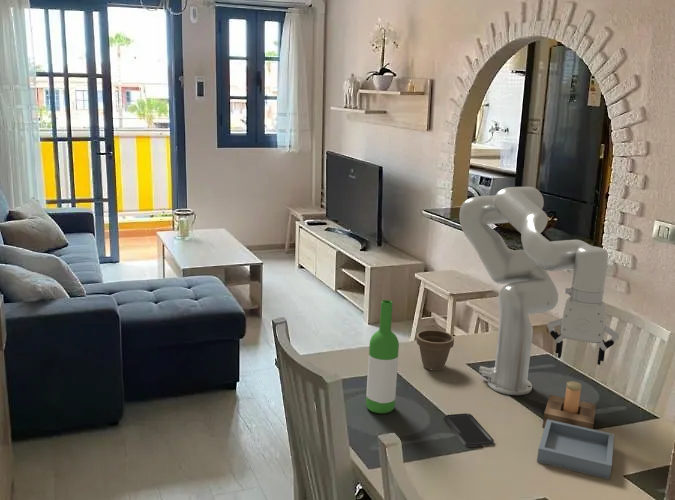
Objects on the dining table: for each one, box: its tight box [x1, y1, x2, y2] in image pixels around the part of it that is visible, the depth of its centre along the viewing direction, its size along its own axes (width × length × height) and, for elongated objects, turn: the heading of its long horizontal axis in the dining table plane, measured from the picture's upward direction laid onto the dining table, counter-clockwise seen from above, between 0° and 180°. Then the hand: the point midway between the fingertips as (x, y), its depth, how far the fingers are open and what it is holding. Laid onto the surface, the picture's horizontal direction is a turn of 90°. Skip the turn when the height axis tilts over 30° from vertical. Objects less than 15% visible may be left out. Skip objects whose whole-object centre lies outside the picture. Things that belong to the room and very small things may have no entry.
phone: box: [443, 413, 495, 448], centre depth 174 cm, size 8×1×15 cm
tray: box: [536, 419, 615, 480], centre depth 165 cm, size 16×16×4 cm
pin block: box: [542, 394, 597, 429], centre depth 181 cm, size 12×12×4 cm
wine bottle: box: [365, 299, 400, 414], centre depth 181 cm, size 8×8×30 cm
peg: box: [563, 380, 582, 414], centre depth 180 cm, size 4×4×11 cm
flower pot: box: [416, 329, 455, 371], centre depth 212 cm, size 12×11×10 cm
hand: (579, 359), depth 176 cm, fingers open, 9 cm apart
